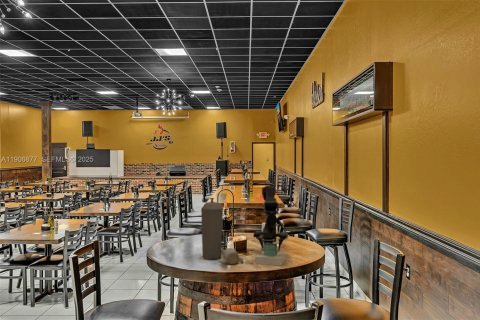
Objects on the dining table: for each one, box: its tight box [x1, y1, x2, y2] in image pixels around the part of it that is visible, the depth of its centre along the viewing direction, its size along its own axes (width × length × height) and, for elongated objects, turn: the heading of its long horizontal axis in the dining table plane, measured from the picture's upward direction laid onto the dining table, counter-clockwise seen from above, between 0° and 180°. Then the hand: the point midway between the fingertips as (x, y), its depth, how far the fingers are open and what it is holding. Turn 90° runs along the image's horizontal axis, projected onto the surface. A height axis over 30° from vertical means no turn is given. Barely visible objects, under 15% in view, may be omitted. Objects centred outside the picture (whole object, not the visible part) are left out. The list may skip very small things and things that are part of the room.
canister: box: [200, 197, 224, 261], centre depth 251 cm, size 13×13×35 cm
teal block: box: [263, 242, 278, 256], centre depth 241 cm, size 6×6×6 cm
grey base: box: [254, 250, 287, 267], centre depth 241 cm, size 14×14×4 cm
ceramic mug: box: [222, 247, 244, 265], centre depth 238 cm, size 11×8×8 cm
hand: (270, 250), depth 241 cm, fingers open, 9 cm apart
